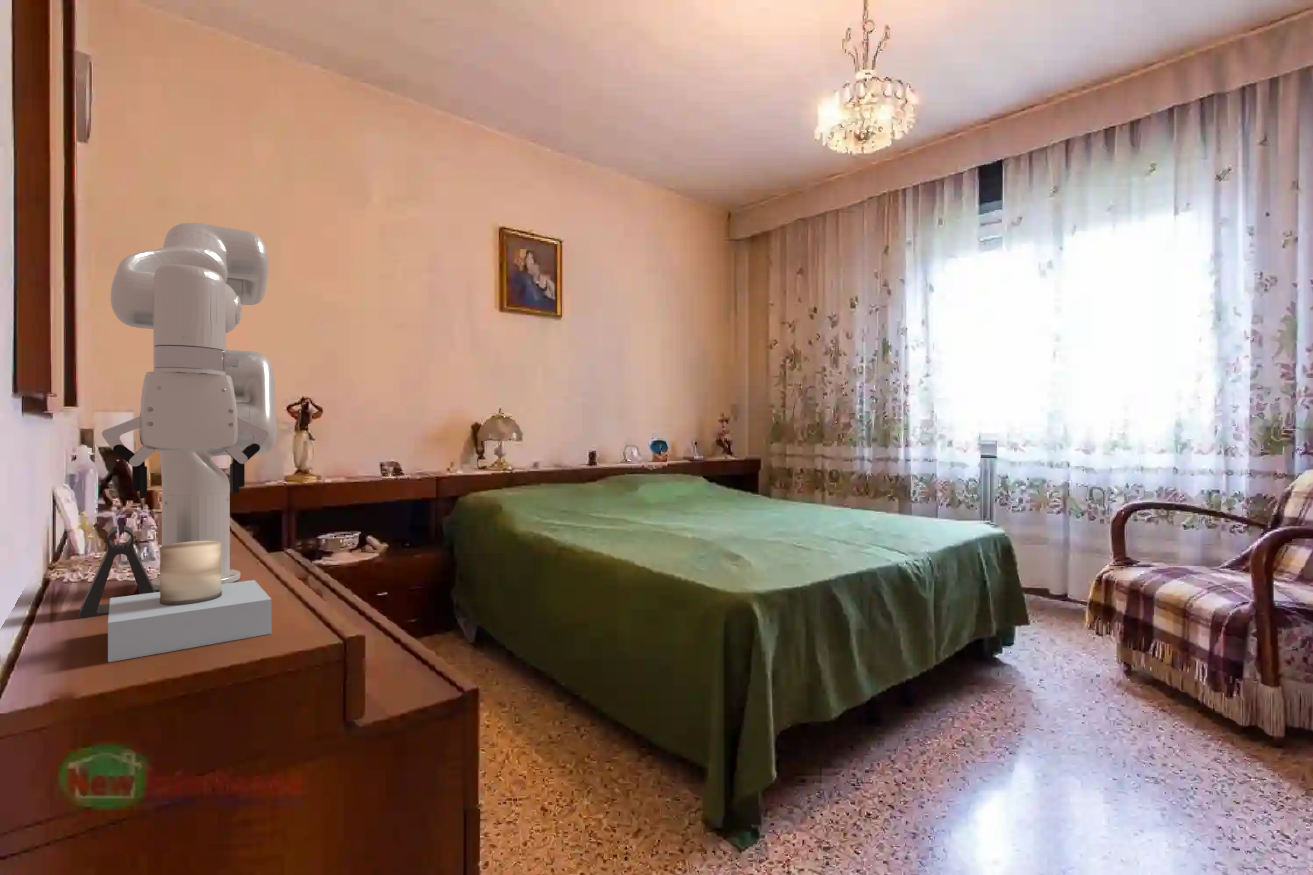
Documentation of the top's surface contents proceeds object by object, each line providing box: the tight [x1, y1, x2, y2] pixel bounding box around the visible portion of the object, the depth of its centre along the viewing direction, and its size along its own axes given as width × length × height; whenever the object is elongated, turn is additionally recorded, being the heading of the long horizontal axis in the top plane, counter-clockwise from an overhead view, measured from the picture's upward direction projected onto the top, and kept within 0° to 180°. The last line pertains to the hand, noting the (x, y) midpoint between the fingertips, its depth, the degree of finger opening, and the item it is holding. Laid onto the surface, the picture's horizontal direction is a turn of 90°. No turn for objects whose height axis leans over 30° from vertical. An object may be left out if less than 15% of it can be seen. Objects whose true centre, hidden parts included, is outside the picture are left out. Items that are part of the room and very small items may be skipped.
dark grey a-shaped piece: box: [78, 525, 157, 619], centre depth 93 cm, size 9×6×12 cm, turn 130°
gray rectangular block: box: [107, 579, 273, 663], centre depth 82 cm, size 14×16×4 cm
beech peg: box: [159, 541, 222, 605], centre depth 82 cm, size 6×6×11 cm
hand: (190, 495), depth 82 cm, fingers open, 9 cm apart
